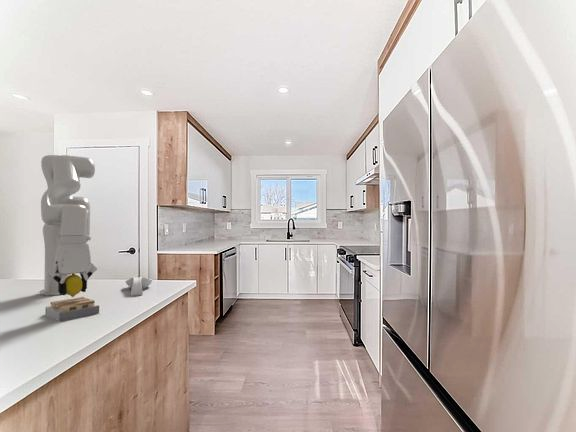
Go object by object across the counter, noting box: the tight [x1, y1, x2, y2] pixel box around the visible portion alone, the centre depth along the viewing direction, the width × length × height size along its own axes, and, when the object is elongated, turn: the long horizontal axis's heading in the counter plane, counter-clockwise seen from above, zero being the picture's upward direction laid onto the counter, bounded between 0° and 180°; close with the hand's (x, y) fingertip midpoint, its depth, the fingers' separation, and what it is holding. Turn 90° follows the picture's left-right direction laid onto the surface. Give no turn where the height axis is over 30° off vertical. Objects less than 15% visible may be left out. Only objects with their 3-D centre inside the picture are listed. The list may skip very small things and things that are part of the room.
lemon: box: [64, 274, 83, 298], centre depth 116 cm, size 6×6×8 cm
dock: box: [44, 303, 100, 322], centre depth 115 cm, size 12×12×3 cm
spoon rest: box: [125, 276, 153, 297], centre depth 155 cm, size 24×12×7 cm, turn 22°
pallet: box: [50, 296, 96, 312], centre depth 116 cm, size 10×10×2 cm
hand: (72, 292), depth 116 cm, fingers closed on lemon, 5 cm apart
